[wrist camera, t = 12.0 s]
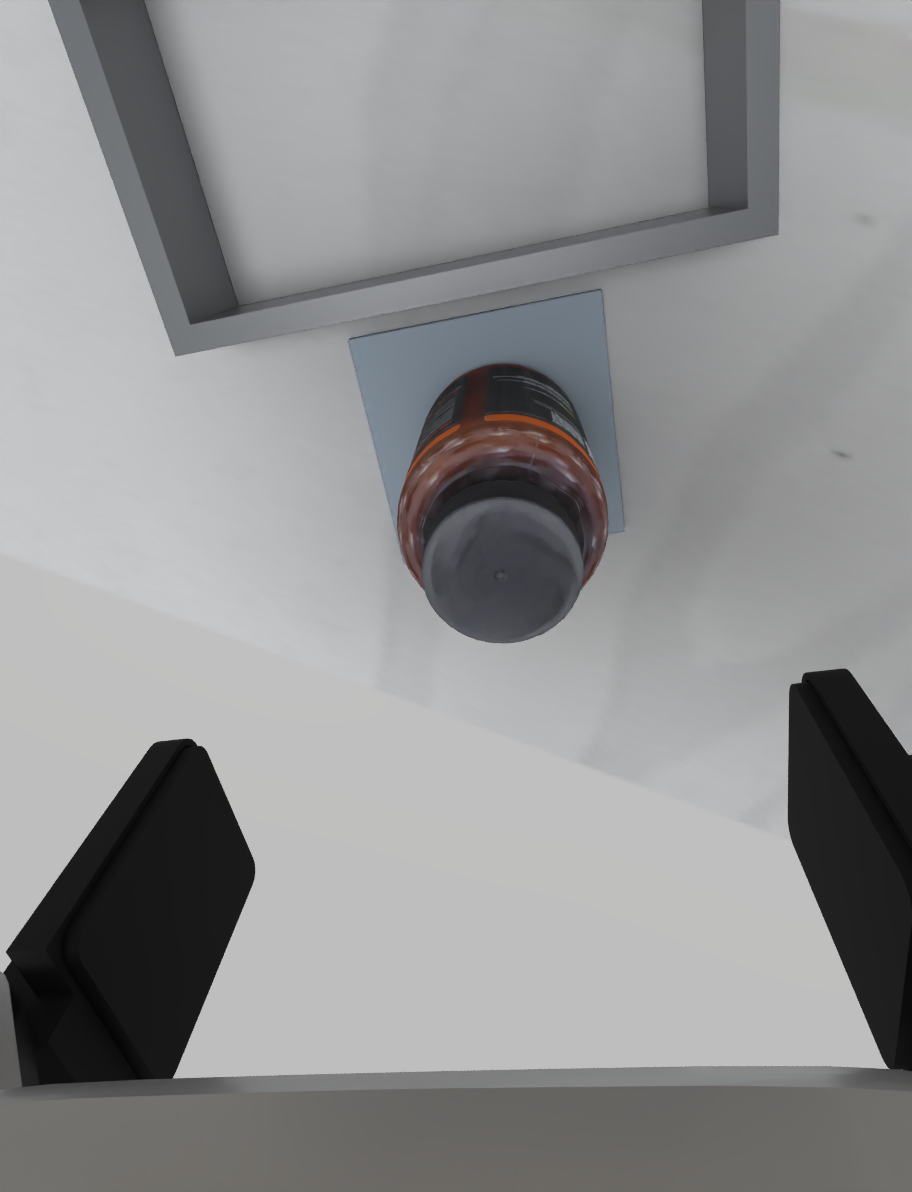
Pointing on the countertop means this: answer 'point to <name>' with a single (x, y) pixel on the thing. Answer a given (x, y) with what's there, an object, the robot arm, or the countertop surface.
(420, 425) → the mat
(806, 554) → the countertop surface
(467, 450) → the supplement bottle
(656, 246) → the case
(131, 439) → the countertop surface
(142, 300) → the countertop surface
